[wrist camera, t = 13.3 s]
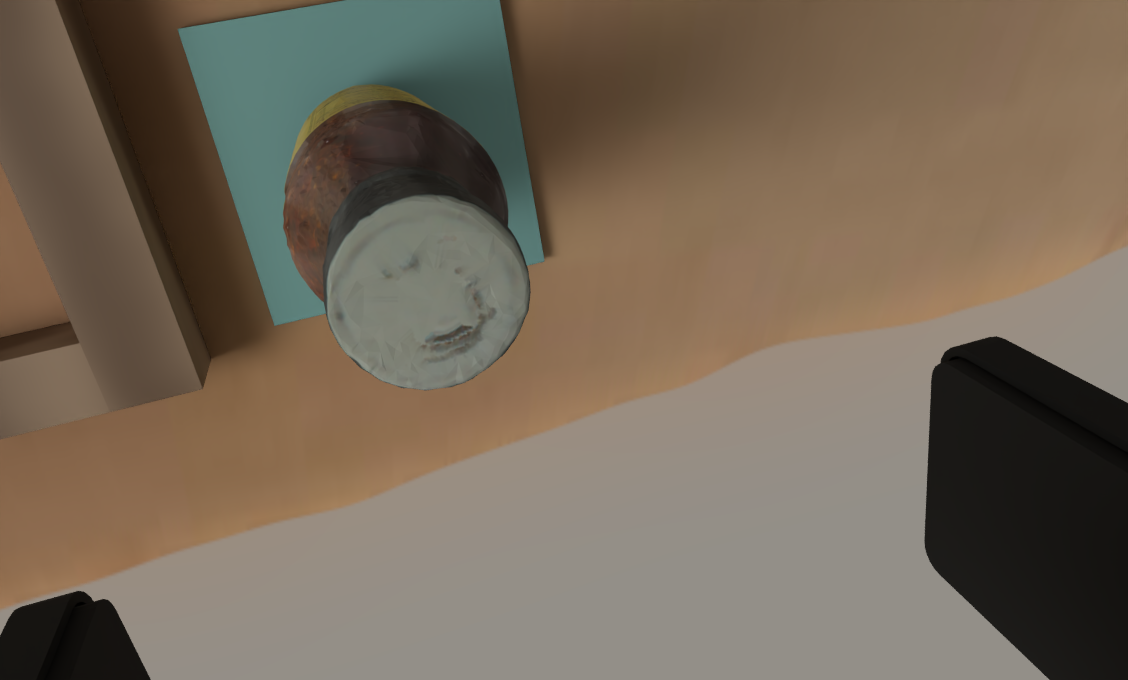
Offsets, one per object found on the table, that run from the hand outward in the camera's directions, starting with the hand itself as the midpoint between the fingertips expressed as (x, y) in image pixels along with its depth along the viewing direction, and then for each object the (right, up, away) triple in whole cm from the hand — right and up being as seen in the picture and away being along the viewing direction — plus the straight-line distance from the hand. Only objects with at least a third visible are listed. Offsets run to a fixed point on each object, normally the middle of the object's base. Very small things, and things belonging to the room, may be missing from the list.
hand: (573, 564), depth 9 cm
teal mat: (-8, +10, +25) cm, 28 cm away
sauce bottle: (-8, +10, +25) cm, 28 cm away
